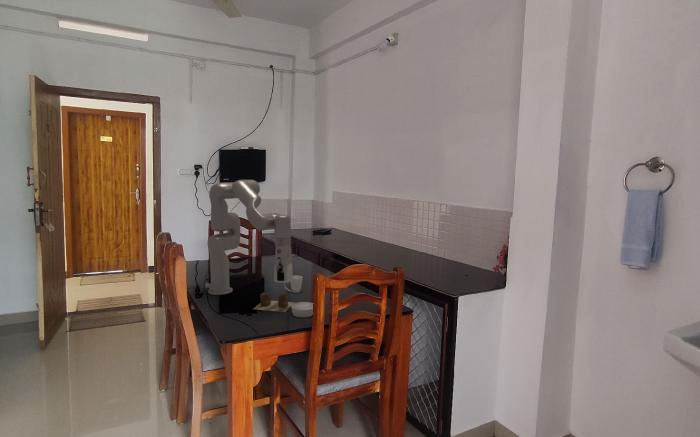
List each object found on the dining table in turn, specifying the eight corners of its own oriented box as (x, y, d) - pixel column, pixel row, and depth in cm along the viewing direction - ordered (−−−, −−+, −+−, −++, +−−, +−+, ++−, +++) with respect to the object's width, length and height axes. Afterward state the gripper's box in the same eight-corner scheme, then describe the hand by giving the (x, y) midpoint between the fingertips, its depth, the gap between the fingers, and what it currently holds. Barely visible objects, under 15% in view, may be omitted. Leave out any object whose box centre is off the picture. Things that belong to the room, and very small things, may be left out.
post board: (252, 312, 201) (252, 297, 200) (264, 303, 214) (264, 289, 213) (285, 315, 197) (284, 300, 196) (295, 305, 211) (295, 291, 210)
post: (278, 307, 203) (278, 296, 202) (281, 305, 207) (281, 293, 206) (285, 307, 202) (285, 296, 202) (288, 305, 206) (288, 294, 205)
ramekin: (316, 321, 190) (316, 309, 189) (290, 321, 189) (290, 310, 189) (316, 312, 201) (316, 301, 201) (291, 313, 200) (291, 302, 200)
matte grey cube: (274, 282, 200) (273, 265, 199) (279, 278, 207) (279, 262, 206) (287, 283, 199) (287, 266, 198) (292, 279, 205) (292, 263, 204)
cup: (302, 293, 231) (302, 278, 230) (283, 293, 230) (283, 279, 229) (302, 289, 238) (302, 275, 237) (284, 289, 237) (284, 275, 236)
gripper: (283, 244, 191) (284, 284, 193) (296, 238, 208) (297, 274, 210) (267, 244, 193) (268, 283, 195) (282, 238, 210) (282, 274, 212)
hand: (283, 278), depth 203 cm, fingers closed on matte grey cube, 6 cm apart
